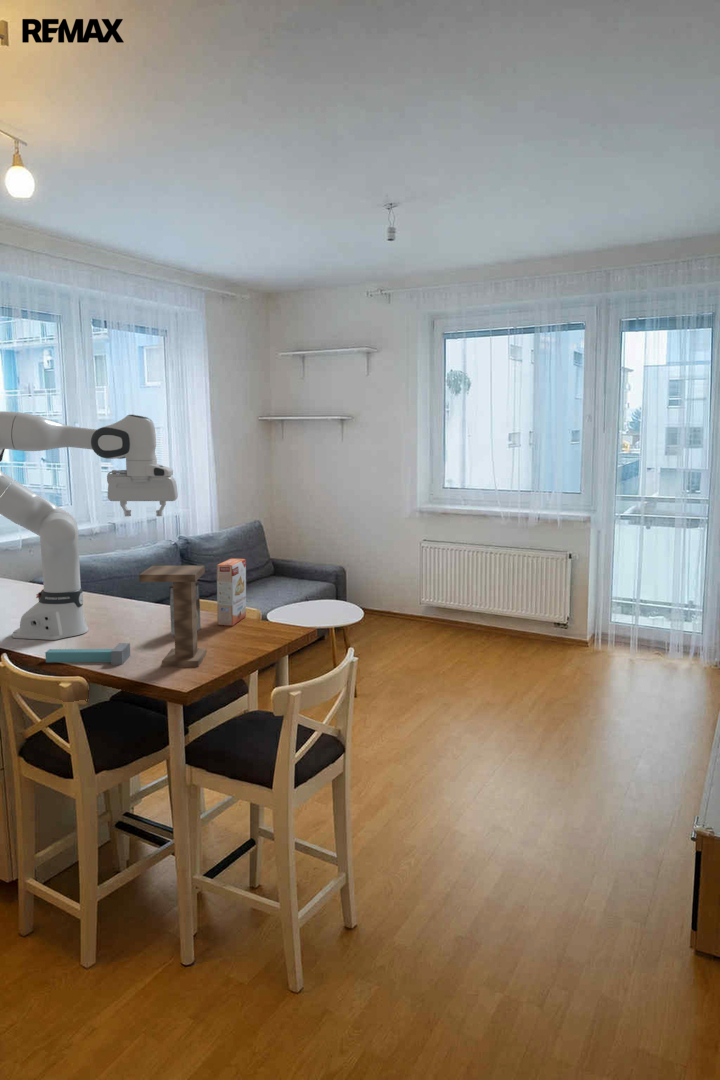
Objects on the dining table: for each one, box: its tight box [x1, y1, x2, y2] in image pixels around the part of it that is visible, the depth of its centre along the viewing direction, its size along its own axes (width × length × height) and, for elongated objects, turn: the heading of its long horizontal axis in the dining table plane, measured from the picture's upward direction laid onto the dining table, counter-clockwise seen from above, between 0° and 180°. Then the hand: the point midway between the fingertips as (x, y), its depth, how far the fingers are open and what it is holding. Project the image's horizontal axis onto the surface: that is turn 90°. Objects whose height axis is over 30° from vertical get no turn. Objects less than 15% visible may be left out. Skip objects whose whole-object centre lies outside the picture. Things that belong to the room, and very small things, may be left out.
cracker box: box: [216, 558, 247, 627], centre depth 249 cm, size 14×6×21 cm, turn 170°
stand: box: [138, 565, 207, 668], centre depth 205 cm, size 15×14×26 cm
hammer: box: [44, 642, 131, 666], centre depth 206 cm, size 22×8×4 cm, turn 92°
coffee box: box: [168, 581, 202, 636], centre depth 235 cm, size 9×6×16 cm
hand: (143, 516), depth 219 cm, fingers open, 8 cm apart
